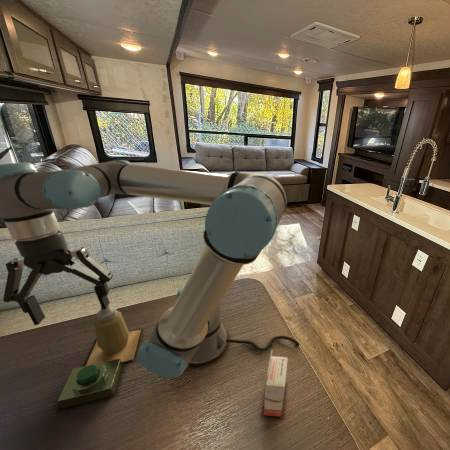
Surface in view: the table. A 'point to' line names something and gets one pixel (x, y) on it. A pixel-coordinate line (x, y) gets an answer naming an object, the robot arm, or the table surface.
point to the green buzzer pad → (91, 384)
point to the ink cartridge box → (275, 386)
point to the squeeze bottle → (111, 330)
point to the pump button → (87, 375)
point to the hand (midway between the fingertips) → (74, 313)
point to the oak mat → (124, 354)
